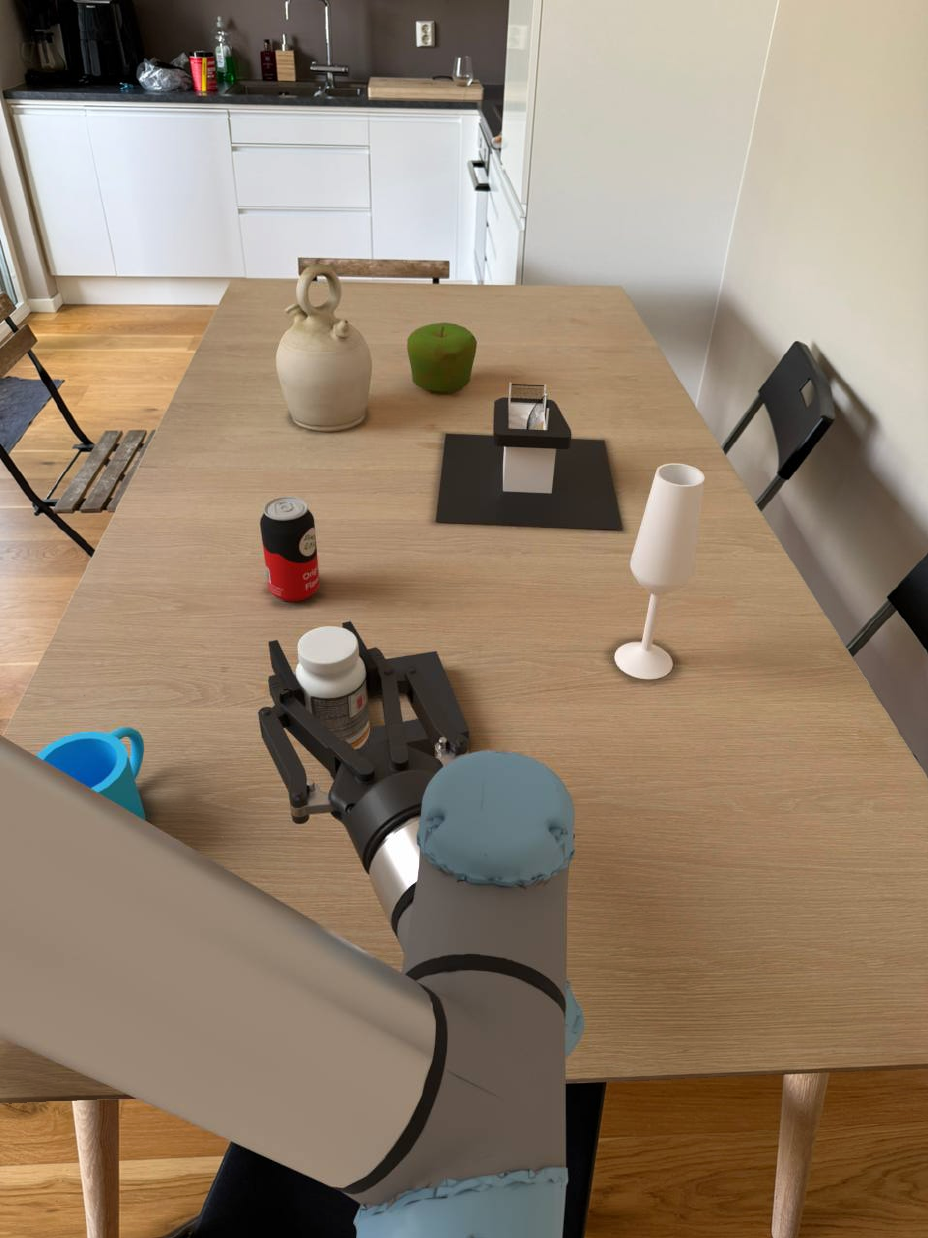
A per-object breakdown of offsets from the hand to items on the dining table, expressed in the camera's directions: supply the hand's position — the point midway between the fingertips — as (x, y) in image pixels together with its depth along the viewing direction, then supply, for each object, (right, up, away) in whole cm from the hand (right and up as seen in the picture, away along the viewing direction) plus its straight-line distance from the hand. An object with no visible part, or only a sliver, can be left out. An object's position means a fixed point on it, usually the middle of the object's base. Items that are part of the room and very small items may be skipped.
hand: (311, 644), depth 75 cm
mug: (-20, -16, +8) cm, 27 cm away
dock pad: (+5, -8, +19) cm, 22 cm away
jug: (-10, +36, +77) cm, 85 cm away
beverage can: (-8, +6, +37) cm, 38 cm away
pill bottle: (+2, -8, 0) cm, 8 cm away
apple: (+9, +44, +88) cm, 99 cm away
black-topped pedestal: (+22, +24, +61) cm, 70 cm away
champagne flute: (+34, -3, +28) cm, 44 cm away
